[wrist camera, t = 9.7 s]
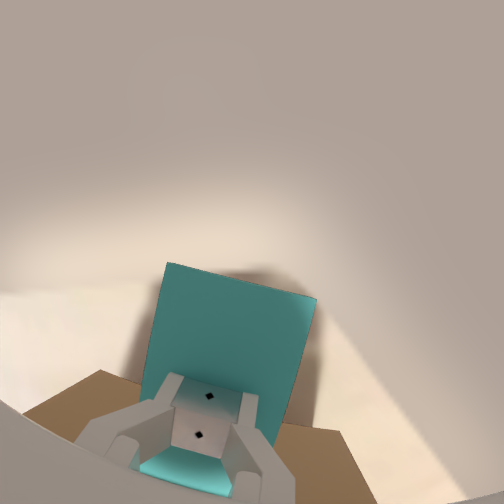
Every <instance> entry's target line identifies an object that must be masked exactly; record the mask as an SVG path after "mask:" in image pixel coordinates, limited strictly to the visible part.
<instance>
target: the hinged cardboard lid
mask: <svg viewBox="0 0 504 504" xmlns="http://www.w3.org/2000/svg"><path fill="white" fill-rule="evenodd" d="M316 302H317V299H314V298H312V297H308V296H304V295H299V294H295V293H291V292H287V291H283V290H278V289H274V288H270V287H266V286H262V285H258V284H254V283H250V282H246V281H242V280H238V279H234V278H230V277H226V276H222V275H218V274H214V273H210V272H206V271H202V270H199V269H195V268H191V267H187V266H183V265H179V264H175V263H169V262H167V265H166V269H165V273H164V277H163V281H162V286H161V290H160V294H159V299H158V303H157V308H156V313H155V317H154V322H153V327H152V332H151V337H150V342H149V347H148V352H147V358H146V363H145V369H144V374H143V380H142V385H140V384H137V383H134V382H131V381H129V380H126V379H123V378H121V377H118V376H116V375H113V374H110V373H108V372H105V371H103V370H101V369H100V370H99V371H97V372H95V373H94V374H92V375H90V376H88V377H87V378H85V379H83V380H81V381H80V382H78V383H76V384H75V385H73V386H71V387H69V388H68V389H66V390H64V391H62V392H61V393H59V394H57V395H55V396H53V397H52V398H50V399H48V400H46V401H45V402H43V403H41V404H39V405H38V406H36V407H34V408H32V409H30V410H29V411H27V412H25V413H23V414H22V415H24V416H26V417H27V418H29V419H30V420H32V421H34V422H35V423H37V424H39V425H40V426H42V427H44V428H46V429H47V430H49V431H51V432H53V433H55V434H56V435H58V436H60V437H62V438H64V439H66V440H68V441H70V442H71V443H74V442H75V440H76V439H77V438H78V436H79V435H80V434H81V432H82V431H83V429H84V428H85V427H86V425H87V424H88V423H89V421H90V420H92V419H95V418H98V417H101V416H104V415H107V414H109V413H112V412H115V411H118V410H121V409H123V408H126V407H129V406H132V405H134V404H137V403H140V402H142V401H145V400H147V399H151V400H154V398H155V396H156V394H157V393H158V391H159V389H160V387H161V386H162V384H163V382H164V380H165V379H166V377H167V375H168V374H169V373H170V372H173V373H176V374H179V375H182V376H186V377H189V378H192V379H195V380H199V381H202V382H205V383H209V384H212V385H215V386H219V387H223V388H227V389H231V390H235V391H239V392H246V393H251V394H256V395H258V396H259V398H258V406H257V414H256V422H255V428H256V429H259V430H260V431H261V433H262V434H263V435H264V437H265V438H266V440H267V441H268V442H269V444H270V445H271V447H272V448H273V449H274V451H275V452H276V453H277V455H278V456H279V458H280V459H281V460H282V462H283V463H284V464H285V466H286V467H287V468H288V470H289V471H290V472H291V474H292V475H293V476H294V477H295V504H377V502H376V500H375V498H374V496H373V494H372V492H371V491H370V489H369V487H368V485H367V483H366V481H365V479H364V477H363V475H362V473H361V471H360V469H359V468H358V466H357V464H356V462H355V460H354V458H353V456H352V454H351V452H350V450H349V448H348V446H347V445H346V443H345V441H344V439H343V437H342V435H341V433H340V431H336V430H328V429H320V428H313V427H306V426H300V425H294V424H288V423H282V420H283V417H284V414H285V411H286V408H287V405H288V401H289V398H290V395H291V392H292V388H293V385H294V382H295V378H296V375H297V372H298V368H299V365H300V361H301V358H302V354H303V351H304V347H305V343H306V340H307V336H308V332H309V329H310V325H311V321H312V317H313V314H314V310H315V306H316ZM140 473H143V474H146V475H149V476H151V477H154V478H157V479H160V480H163V481H167V482H170V483H173V484H176V485H180V486H183V487H187V488H190V489H194V490H198V491H201V492H205V493H209V494H214V495H218V496H222V497H228V494H229V492H230V489H231V487H232V484H231V482H230V480H229V478H228V475H227V473H226V471H225V469H224V467H223V464H222V462H221V459H219V458H215V457H211V456H208V455H204V454H201V453H198V452H194V451H190V450H186V449H183V448H179V447H175V446H172V445H170V447H168V448H167V449H165V450H164V451H162V452H160V453H159V454H157V455H156V456H154V457H152V458H151V459H149V460H147V461H146V462H144V463H142V464H141V465H140Z"/></svg>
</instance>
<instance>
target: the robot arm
mask: <svg viewBox="0 0 504 504" xmlns="http://www.w3.org/2000/svg"><path fill="white" fill-rule="evenodd" d="M258 398H259V396H258V395H256V394H251V393H246V392H239V391H235V390H231V389H227V388H223V387H219V386H215V385H212V384H209V383H205V382H202V381H199V380H195V379H192V378H189V377H186V376H182V375H179V374H176V373H173V372H170V373H169V374H168V375H167V377H166V379H165V380H164V382H163V384H162V386H161V387H160V389H159V391H158V393H157V394H156V396H155V398H154V400H151V399H147V400H145V401H142V402H140V403H137V404H134V405H132V406H129V407H126V408H123V409H121V410H118V411H115V412H112V413H109V414H107V415H104V416H101V417H98V418H95V419H92V420H90V421H89V423H88V424H87V425H86V427H85V428H84V429H83V431H82V432H81V434H80V435H79V436H78V438H77V439H76V440H75V442H74V443H71V442H70V441H68V440H66V439H64V438H62V437H60V436H58V435H56V434H55V433H53V432H51V431H49V430H47V429H46V428H44V427H42V426H40V425H39V424H37V423H35V422H34V421H32V420H30V419H29V418H27V417H26V416H24V415H22V414H21V413H19V412H18V411H16V410H15V409H13V408H12V407H10V406H9V405H7V404H6V403H4V402H3V401H1V400H0V504H295V477H294V476H293V475H292V474H291V472H290V471H289V470H288V468H287V467H286V466H285V464H284V463H283V462H282V460H281V459H280V458H279V456H278V455H277V453H276V452H275V451H274V449H273V448H272V447H271V445H270V444H269V442H268V441H267V440H266V438H265V437H264V435H263V434H262V433H261V431H260V430H259V429H256V428H255V422H256V414H257V406H258ZM170 445H172V446H175V447H179V448H183V449H186V450H190V451H194V452H198V453H201V454H204V455H208V456H211V457H215V458H219V459H221V462H222V464H223V467H224V469H225V471H226V473H227V475H228V478H229V480H230V482H231V484H232V487H231V489H230V492H229V494H228V497H222V496H218V495H214V494H209V493H205V492H201V491H198V490H194V489H190V488H187V487H183V486H180V485H176V484H173V483H170V482H167V481H163V480H160V479H157V478H154V477H151V476H149V475H146V474H143V473H140V465H141V464H142V463H144V462H146V461H147V460H149V459H151V458H152V457H154V456H156V455H157V454H159V453H160V452H162V451H164V450H165V449H167V448H168V447H170ZM448 504H504V491H502V492H498V493H495V494H491V495H487V496H483V497H478V498H474V499H469V500H465V501H459V502H454V503H448Z"/></svg>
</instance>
